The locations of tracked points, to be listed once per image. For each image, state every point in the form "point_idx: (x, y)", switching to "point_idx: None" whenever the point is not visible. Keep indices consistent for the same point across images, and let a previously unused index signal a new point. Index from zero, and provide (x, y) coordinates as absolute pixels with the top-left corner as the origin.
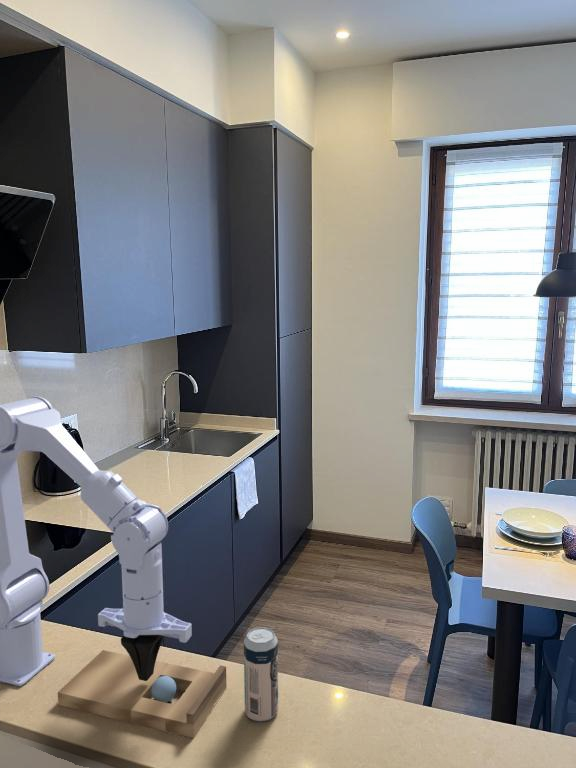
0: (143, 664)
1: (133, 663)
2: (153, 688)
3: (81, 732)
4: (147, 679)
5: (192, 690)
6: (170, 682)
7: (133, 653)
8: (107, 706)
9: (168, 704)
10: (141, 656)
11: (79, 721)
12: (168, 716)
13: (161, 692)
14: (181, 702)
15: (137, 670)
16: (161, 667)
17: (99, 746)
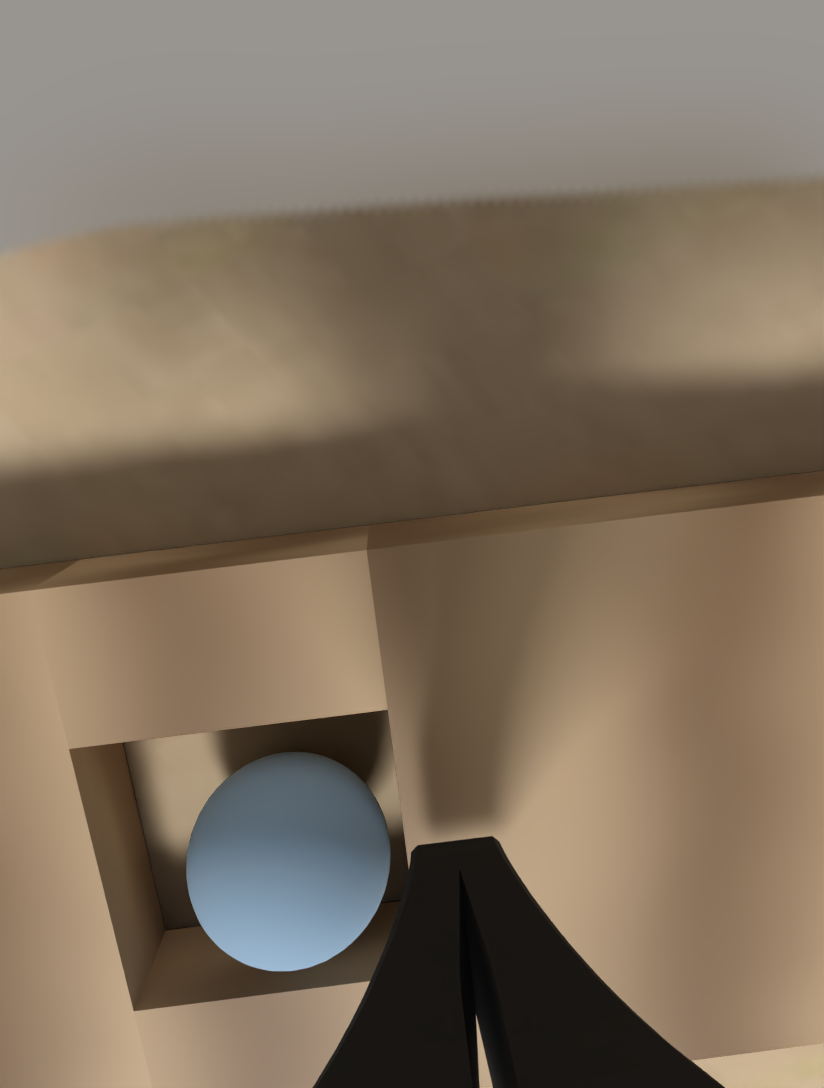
0: (420, 970)
1: (560, 939)
2: (331, 814)
3: (654, 288)
4: (411, 863)
5: (60, 932)
6: (210, 919)
7: (573, 1067)
8: (595, 516)
9: (120, 729)
10: (430, 1064)
11: (745, 376)
12: (17, 616)
13: (240, 805)
14: (39, 790)
15: (504, 891)
16: None
17: (426, 226)
